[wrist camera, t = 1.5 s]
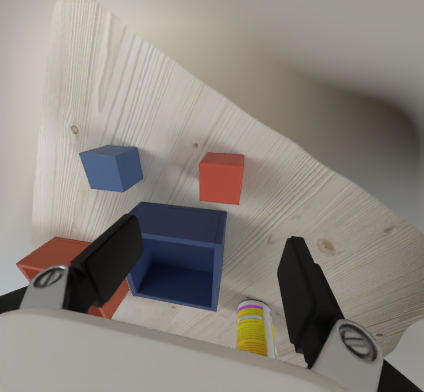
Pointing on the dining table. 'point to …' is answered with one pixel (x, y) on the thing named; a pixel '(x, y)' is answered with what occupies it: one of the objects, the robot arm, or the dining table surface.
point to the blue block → (112, 167)
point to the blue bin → (179, 255)
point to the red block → (221, 178)
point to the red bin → (62, 255)
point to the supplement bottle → (255, 329)
